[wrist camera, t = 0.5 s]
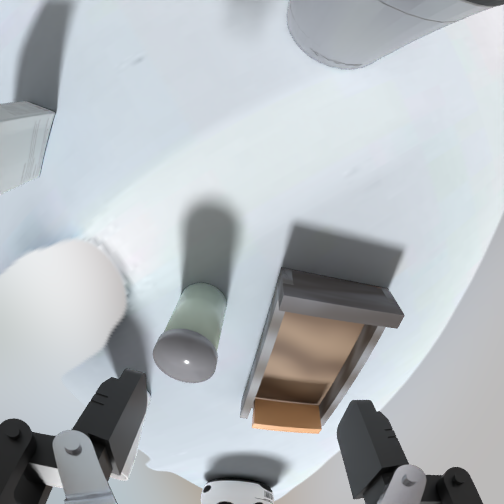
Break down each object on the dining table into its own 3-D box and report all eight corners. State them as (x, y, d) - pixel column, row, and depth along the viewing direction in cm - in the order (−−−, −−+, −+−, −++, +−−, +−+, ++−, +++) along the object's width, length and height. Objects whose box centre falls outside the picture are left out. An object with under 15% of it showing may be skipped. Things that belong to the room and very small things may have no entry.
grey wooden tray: (281, 267, 28) (283, 295, 24) (387, 288, 29) (404, 315, 24) (241, 401, 37) (238, 429, 33) (321, 410, 38) (324, 436, 33)
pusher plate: (255, 398, 35) (253, 423, 32) (318, 405, 36) (321, 429, 32) (253, 403, 36) (252, 427, 32) (315, 409, 36) (318, 433, 32)
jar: (181, 276, 29) (152, 330, 21) (232, 287, 30) (219, 346, 21) (177, 316, 32) (153, 374, 23) (224, 327, 32) (212, 388, 24)
